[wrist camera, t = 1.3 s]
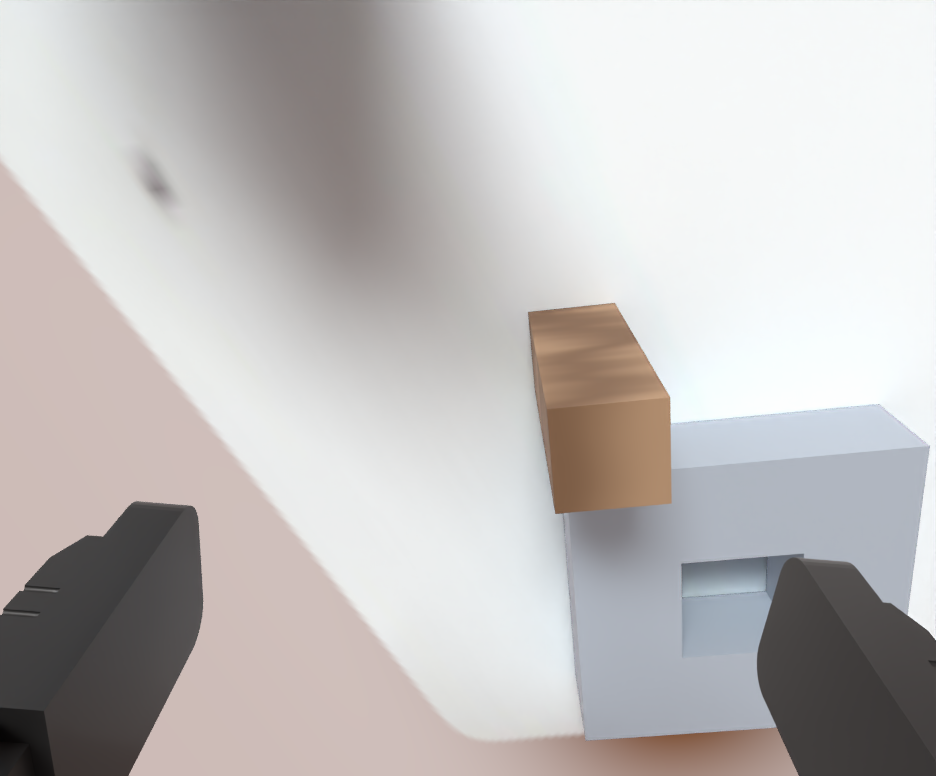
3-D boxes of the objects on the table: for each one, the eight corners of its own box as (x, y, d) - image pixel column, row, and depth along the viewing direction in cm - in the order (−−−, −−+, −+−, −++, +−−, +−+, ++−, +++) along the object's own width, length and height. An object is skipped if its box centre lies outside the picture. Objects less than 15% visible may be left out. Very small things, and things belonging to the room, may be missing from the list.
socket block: (879, 404, 33) (929, 446, 29) (853, 656, 38) (893, 719, 34) (557, 434, 33) (566, 478, 30) (575, 677, 39) (585, 740, 35)
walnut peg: (614, 303, 31) (670, 397, 22) (618, 382, 32) (671, 503, 23) (528, 312, 31) (546, 409, 22) (535, 391, 33) (555, 513, 23)
